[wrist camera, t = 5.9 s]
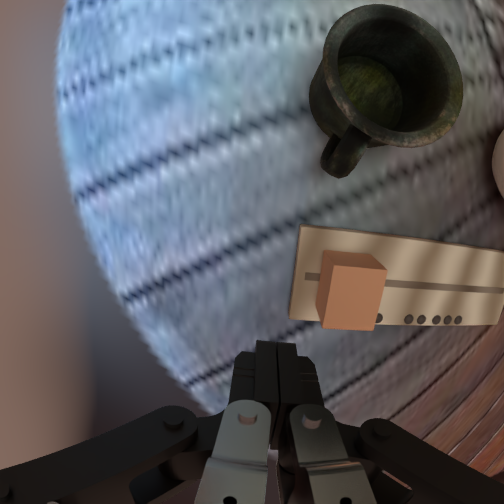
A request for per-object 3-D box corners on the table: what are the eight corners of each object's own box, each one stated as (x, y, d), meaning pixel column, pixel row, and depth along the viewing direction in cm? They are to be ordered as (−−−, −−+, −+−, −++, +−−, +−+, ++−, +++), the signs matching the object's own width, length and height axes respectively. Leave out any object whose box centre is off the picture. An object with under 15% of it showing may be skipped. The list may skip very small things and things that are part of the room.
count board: (510, 252, 31) (518, 255, 29) (491, 319, 33) (497, 325, 32) (300, 223, 32) (301, 226, 30) (288, 312, 34) (289, 319, 33)
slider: (371, 254, 30) (387, 270, 25) (360, 308, 32) (373, 330, 27) (324, 249, 30) (333, 265, 26) (315, 305, 32) (322, 328, 27)
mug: (418, 90, 27) (479, 63, 15) (361, 200, 31) (409, 220, 19) (333, 35, 26) (361, -21, 14) (268, 147, 30) (268, 134, 18)
